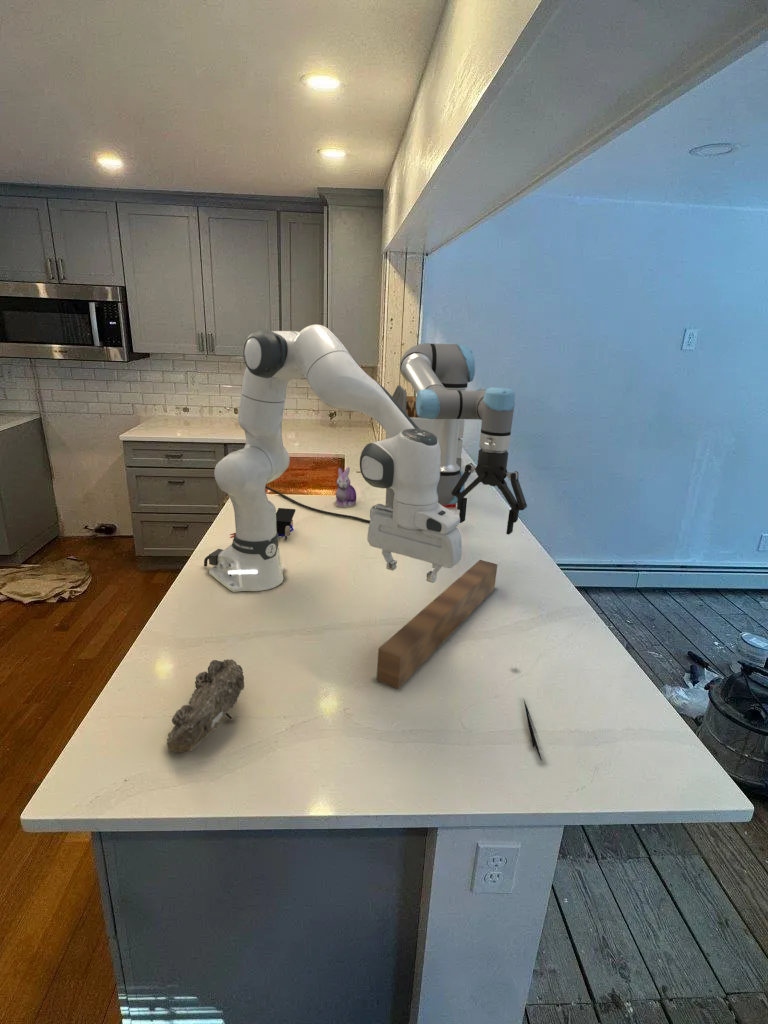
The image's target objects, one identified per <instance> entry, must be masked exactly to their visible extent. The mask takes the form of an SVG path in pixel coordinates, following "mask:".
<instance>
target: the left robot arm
mask: <svg viewBox="0 0 768 1024" xmlns="http://www.w3.org/2000/svg"><path fill="white" fill-rule="evenodd" d="M243 361H244V364H245V370H244V375H243V378H242V382H241V383H242V384H241V391H240V397H239V407H238V416H237V422H238V425H239V427H240V428H241V429H242V430H243V431H244V434H245V445H244V447H243V448H240V449H238V450H236V451H232V452H230V453H228V454H227V455H226V456H224V457H223V458H221V459H220V460H219V461H218V462H217V463H216V465H215V467H214V471H213V475H214V480H215V482H216V485H217V486H218V488H219V489H220V490H221V491H222V492H223V493H225V494H226V495H228V497H229V499H230V501H231V504H232V507H233V512H234V524H235V525H234V526H235V532H233V533H230V534H229V536H230V537H229V539H232V538H233V539H232V543H231V544H230V545H229V546H227V547H226V548H224V549H222V548H217V549H216V550H214V551H213V552H211V553H209V554H208V555H207V556H206V557H205V558H204V560H203V566H204V567H208V564H209V566H213V567H211V568H210V569H209V571H208V574H209V575H210V576H211V577H212V578H214V580H217V581H218V582H219V583H220V584H221V585H223V586H224V588H227V590H229V591H230V592H233V593H235V592H260V591H268V590H271V589H274V588H277V587H278V586H280V585H281V584H282V583H283V581H284V571H285V569H284V568H285V567H284V566H283V565H282V559H281V552H280V546H279V544H280V543H279V538H280V536H279V537H278V533H277V531H276V512H277V508H276V506H275V504H274V503H273V502H271V500H269V498H268V496H267V492H266V488H265V487H266V486H267V484H269V483H271V482H273V481H275V480H277V479H279V478H280V477H281V476H282V475H283V474H284V473H285V472H286V471H287V470H288V469H289V466H290V462H291V461H290V460H291V459H290V455H289V451H288V450H287V448H286V447H285V446H284V442H283V435H282V434H283V432H282V430H283V428H282V427H283V419H284V412H285V404H286V397H287V387H288V383H289V382H290V381H292V380H306V381H307V383H308V385H309V386H310V388H311V391H313V393H314V395H316V397H317V398H318V399H319V400H320V401H321V402H322V403H324V404H325V405H326V406H328V407H331V408H335V409H338V410H344V411H350V412H354V413H355V412H356V413H359V414H362V415H366V416H368V417H370V418H372V419H373V420H375V421H376V422H377V423H378V424H379V426H381V428H382V429H383V430H384V431H385V433H386V432H387V434H388V435H389V436H390V437H391V438H389V439H385V438H384V439H379V440H376V441H375V440H374V441H372V442H369V443H367V444H366V445H365V446H364V447H363V449H362V450H361V453H360V457H359V470H360V474H361V476H362V478H363V480H364V481H365V482H366V483H367V484H368V485H370V486H371V487H373V488H378V489H386V488H391V489H392V490H393V491H394V498H393V507H391V506H385V504H383V503H376V504H374V505H372V506H371V508H370V509H369V520H370V523H368V529H367V537H366V538H367V543H368V544H369V546H370V547H373V548H377V549H379V550H381V554H382V556H383V559H384V560H385V562H386V564H385V565H386V568H385V569H386V570H389V571H391V572H393V571H395V570H396V569H397V563H398V561H397V560H395V559H394V557H393V555H392V553H394V554H397V555H401V556H405V557H408V558H412V559H414V560H419V561H422V562H426V563H429V564H432V565H431V568H433V570H430V571H429V572H427V573H426V579H425V581H426V582H428V583H432V584H433V583H435V582H436V581H437V577H438V572H440V571H441V569H442V568H443V567H444V568H446V569H452V568H454V567H455V566H457V565H458V564H459V563H460V561H461V559H462V551H463V550H462V548H463V546H462V545H463V542H462V533H461V531H460V529H459V528H458V526H459V525H460V524H461V523H460V517H459V514H457V513H456V512H454V511H453V510H451V509H450V508H449V509H448V507H444V506H442V505H441V504H439V503H438V494H437V485H438V482H439V480H440V469H441V451H440V445H439V441H438V438H437V437H436V436H435V435H433V434H432V433H430V432H428V431H425V430H421V429H420V428H418V427H417V425H416V424H415V423H414V422H413V421H412V420H411V418H410V417H409V416H408V415H407V414H406V412H405V411H404V410H403V409H402V408H401V406H400V405H399V404H398V403H397V402H396V401H395V399H394V398H393V397H392V396H393V395H392V394H390V392H389V391H388V390H387V389H386V388H385V387H384V386H383V385H381V384H380V383H379V382H378V381H376V380H375V379H373V378H372V377H371V376H370V375H369V374H367V373H366V372H365V371H364V370H363V368H362V367H360V365H358V364H357V362H356V361H355V359H354V358H353V356H352V355H351V354H350V352H349V351H348V349H347V347H345V346H344V344H343V342H341V340H340V339H339V338H338V337H337V336H336V335H335V333H333V332H332V331H331V330H330V329H329V328H328V327H327V326H324V325H323V324H310V325H307V326H306V327H303V328H302V329H301V330H300V331H296V330H268V329H263V330H257V331H253V332H252V333H250V334H249V335H248V337H247V339H246V340H245V342H244V345H243Z"/></svg>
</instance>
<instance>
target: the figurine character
mask: <svg viewBox="0 0 768 1024" xmlns="http://www.w3.org/2000/svg"><path fill="white" fill-rule="evenodd" d="M295 513H296V508H285V507H278V508H277V509H276V531H277V533H278V537H279V538H280V537H281V538H284V541H287V540H288V537H290V536H291V533H292V532H294V530H295V529H294V526H293V525H294V519H293V518H294V516H295Z"/></svg>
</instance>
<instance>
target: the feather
mask: <svg viewBox="0 0 768 1024" xmlns="http://www.w3.org/2000/svg"><path fill="white" fill-rule="evenodd" d="M514 670H517V669H516V668H514ZM523 704H524V709H525V715H526V719H527V725H528V730H529V735H530V739H531V745H532V748H535V750H536V752H537V754H538V757H539V759H540V761H541V762H542V761H543V760H542V759H543V758H542V756H541V753H540V751H541V752H543V749H539V745H538V744H539V742H540V741H539V736H538V735H537V734H538V733H537V730H536V728H535V724H534V722H533V720H532V717H531V714H530V712H529V709H528V706H527V704H526V701H525V699H524V697H523ZM537 741H538V743H537ZM533 752H534V749H533Z"/></svg>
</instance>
